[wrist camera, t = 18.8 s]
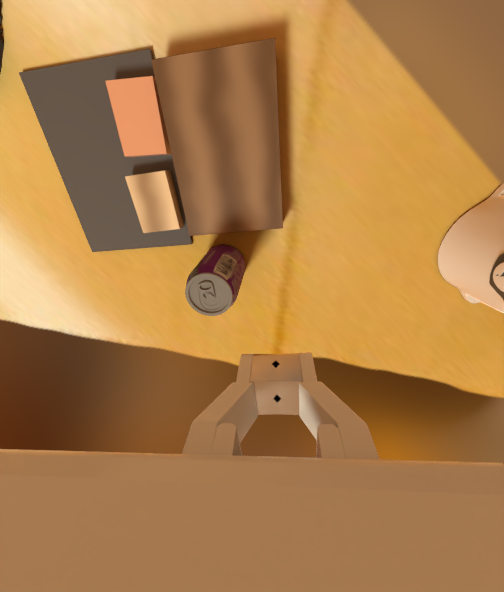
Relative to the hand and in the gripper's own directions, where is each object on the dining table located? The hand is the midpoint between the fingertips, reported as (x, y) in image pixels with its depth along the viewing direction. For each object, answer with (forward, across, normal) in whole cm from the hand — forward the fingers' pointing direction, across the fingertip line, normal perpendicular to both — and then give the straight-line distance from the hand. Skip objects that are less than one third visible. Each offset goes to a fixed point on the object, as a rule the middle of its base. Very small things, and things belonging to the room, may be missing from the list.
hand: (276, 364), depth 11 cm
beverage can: (+31, +9, +6) cm, 33 cm away
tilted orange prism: (+30, +17, -15) cm, 38 cm away
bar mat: (+31, +23, -10) cm, 40 cm away
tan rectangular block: (+30, +18, -5) cm, 36 cm away
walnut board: (+31, +6, -10) cm, 33 cm away
